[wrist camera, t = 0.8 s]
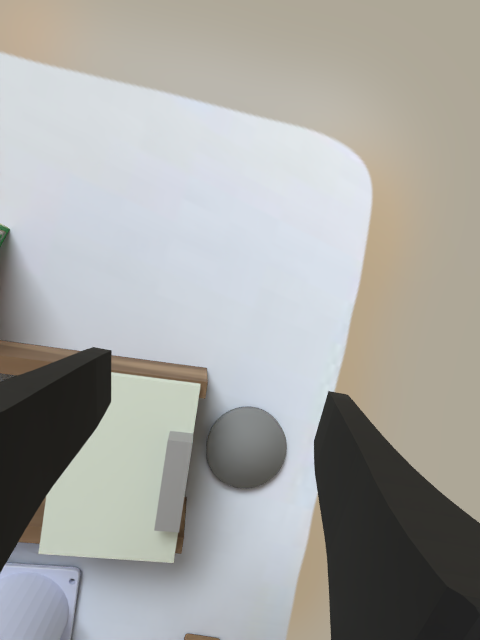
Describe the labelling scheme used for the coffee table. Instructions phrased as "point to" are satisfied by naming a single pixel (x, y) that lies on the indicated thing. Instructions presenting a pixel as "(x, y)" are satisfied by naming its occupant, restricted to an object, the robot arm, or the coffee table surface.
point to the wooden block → (198, 637)
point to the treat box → (31, 357)
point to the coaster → (246, 447)
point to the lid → (127, 476)
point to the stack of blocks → (3, 233)
